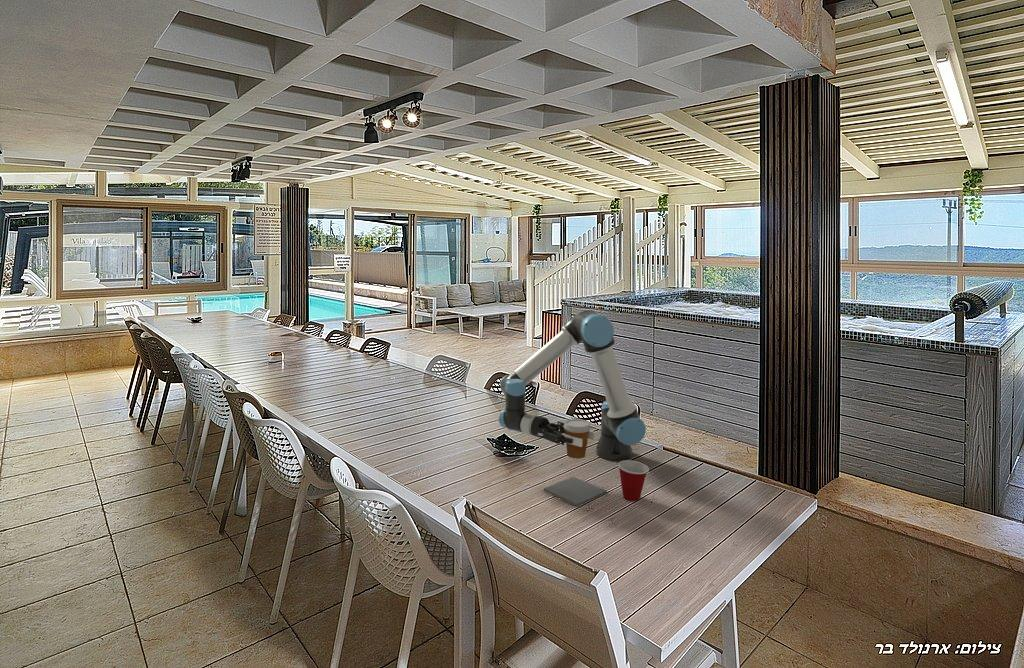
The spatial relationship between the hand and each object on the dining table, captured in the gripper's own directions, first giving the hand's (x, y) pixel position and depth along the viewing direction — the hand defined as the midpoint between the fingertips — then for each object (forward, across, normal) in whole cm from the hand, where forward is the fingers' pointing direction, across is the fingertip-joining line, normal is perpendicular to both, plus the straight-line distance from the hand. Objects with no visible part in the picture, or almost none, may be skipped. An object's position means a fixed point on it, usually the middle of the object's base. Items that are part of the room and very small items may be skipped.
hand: (588, 439), depth 198 cm
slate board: (-5, 0, -21) cm, 22 cm away
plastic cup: (+13, -9, -21) cm, 27 cm away
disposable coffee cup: (-5, 0, -7) cm, 9 cm away
